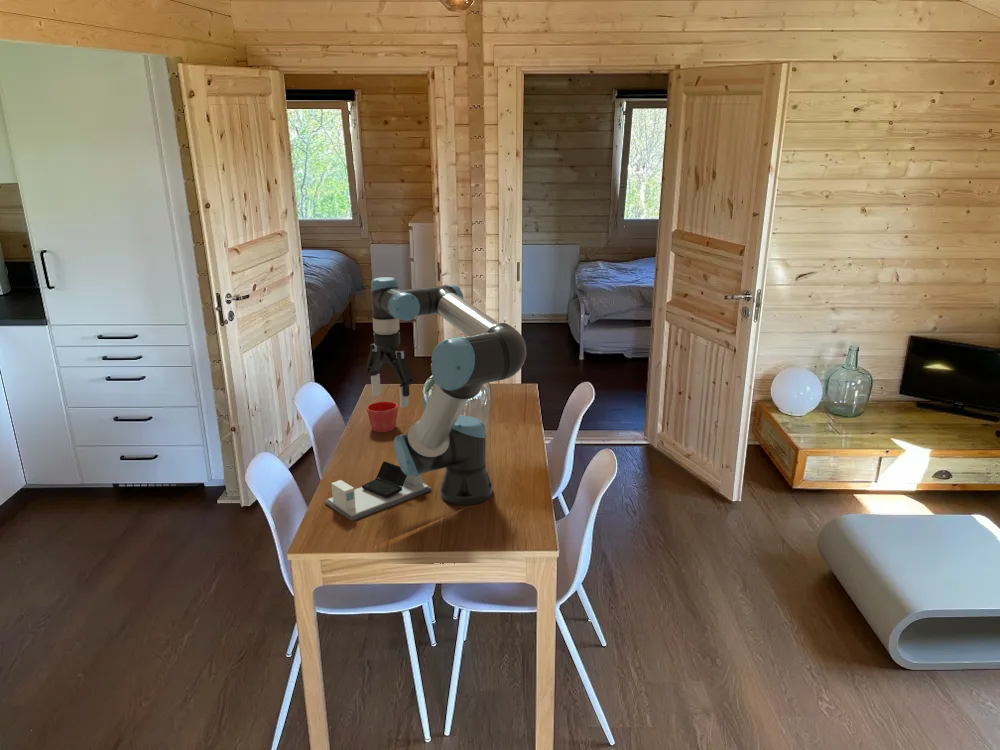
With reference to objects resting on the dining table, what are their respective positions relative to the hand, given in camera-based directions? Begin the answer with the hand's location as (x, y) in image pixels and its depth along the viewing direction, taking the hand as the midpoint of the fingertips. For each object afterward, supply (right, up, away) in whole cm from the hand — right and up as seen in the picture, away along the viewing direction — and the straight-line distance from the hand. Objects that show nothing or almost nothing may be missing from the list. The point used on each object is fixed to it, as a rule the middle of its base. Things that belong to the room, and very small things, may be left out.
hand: (390, 400), depth 215 cm
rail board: (-2, -28, -5) cm, 28 cm away
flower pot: (-9, -13, +44) cm, 47 cm away
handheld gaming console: (-3, -27, -6) cm, 28 cm away
